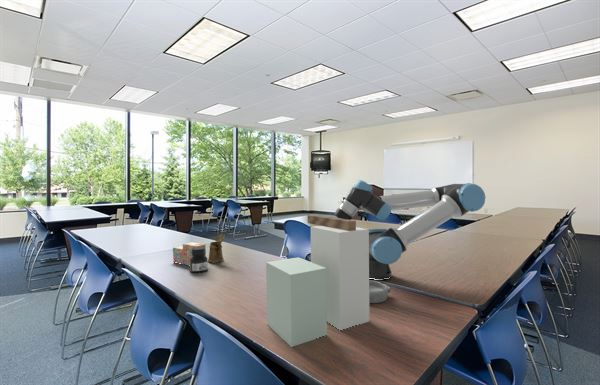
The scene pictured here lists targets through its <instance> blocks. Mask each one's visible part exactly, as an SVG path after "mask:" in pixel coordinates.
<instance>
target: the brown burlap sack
mask: <svg viewBox="0 0 600 385" xmlns="http://www.w3.org/2000/svg"><path fill="white" fill-rule="evenodd" d="M225 238H226V234H225V233H224V232H221V233H219V234H217V235H216V236H215V239H214V240H215V241H211V242H210V244H209V251H208V252H209V253H208V257H207V260H208V263H209V262H212V263H211V264H217V262H219V263H222V262H224V261H225V259H224V257H223V250H222V248H223V246H222V242H223V241H225Z"/></svg>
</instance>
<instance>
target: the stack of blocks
mask: <svg viewBox="0 0 600 385" xmlns="http://www.w3.org/2000/svg"><path fill="white" fill-rule="evenodd" d="M196 247H205V256H206V255H207V254H206V252H207V249H206V247H207V246H206V244H205V243H202V242H201V243H200V242H192V241H191V242H187V243H186V242H185V243H182V245H180V246H175V247H173V248H172V254H173V256H172V258H173V261H172V262H177V263H181V264H186V265H190V259H191V258H192V257H193V256H192V248H196ZM206 257H207V256H206Z"/></svg>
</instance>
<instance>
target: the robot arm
mask: <svg viewBox="0 0 600 385" xmlns="http://www.w3.org/2000/svg"><path fill="white" fill-rule="evenodd" d="M372 190H373V187H372V186H371V185H370V184H369V183H368V182H366V181H364V180H362V179H359V180H357V181H356V182H355V184H354V185H353V186H352V188H350V190H349V192H348V193H347V195H346V197H345V198H344V199H343V200H341V201H340V205H339V208H337V209H336V211H334V213H333V215H334V217H335V218H340V219H348V220H353V217H354V216H355V215H356V213H357V212H358V210H359V209H360V208H361V210H362V211H363V212H364V213H365V214H371V215H372V216H374V217H376V218H377V219H379V220H380V221H385V220H386V219H387V218H388V217H389V215H390V214H391V212H392V211H399V210H407V209H416V208H425V207H426V209H425V210H423V211H422V212H420V213H419V214H417V215H415V216H414V217H412V218H411V219H409V220H407V221H405V222H404V223H403V224H401V225H400V226H398V227H396V228H395V227H390V228H388V229H386V228H368V229H369V278H375V279H384V278H389V277H391V276H393V274H392V269H391V266H390V265H391V264H394V263H396V262H397V261H398V260H400V259H401V256H402V254H403V253H405V252H406V251H407V250H408V246H409V245H411V244H413V242H415V241H417V240H419V239H421V237H423V236H425V235H427V234H428V233H429V232H431V231H433V230H435V229H436V228H438V227H439V226H441V225H442V224H444V223H445V222H447V221H449V220H450V219H452V218H454V217H455V218H461V217H463V216H465V215H466V214H468V213H469V212H471V213H472V212H473V213H474V212H477V211H479V210H481V209H482V208H483V207H484V205H485V202H486V194H485V190H483V188H482V187H481V186H479V185H478V184H475V183H452V184H448V185H444V186H443V185H442V186H437V187H431V189H430V190H422V191H412V192H404V193H395V194H387V195H380V196H377V195H375V194H374V193H373V192H372ZM427 207H428V208H427ZM391 278H392V277H391Z"/></svg>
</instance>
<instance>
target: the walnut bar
mask: <svg viewBox="0 0 600 385" xmlns="http://www.w3.org/2000/svg"><path fill="white" fill-rule="evenodd" d="M307 224H309V225H310V224H311V225H315V226H325V227H331V228H336V229H341V230H346V231H352V230H356V227H357V220H353V219H351V220H348V219H340V218H338V217H332V216H325V215H319V214H318V215H317V214H308V215H307Z"/></svg>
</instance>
